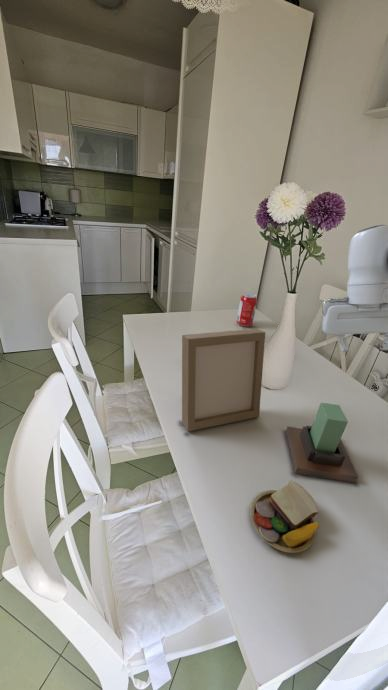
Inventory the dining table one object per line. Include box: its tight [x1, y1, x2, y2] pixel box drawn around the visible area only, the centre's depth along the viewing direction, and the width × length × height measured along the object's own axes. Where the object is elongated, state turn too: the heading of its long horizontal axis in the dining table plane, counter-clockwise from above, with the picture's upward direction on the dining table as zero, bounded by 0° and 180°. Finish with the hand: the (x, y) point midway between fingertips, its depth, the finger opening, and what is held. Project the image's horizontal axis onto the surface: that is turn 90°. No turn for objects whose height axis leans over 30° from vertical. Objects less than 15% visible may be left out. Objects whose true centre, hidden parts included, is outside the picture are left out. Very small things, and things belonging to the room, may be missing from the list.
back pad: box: [309, 402, 349, 453], centre depth 74 cm, size 4×6×12 cm
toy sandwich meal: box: [249, 480, 320, 554], centre depth 59 cm, size 12×14×5 cm
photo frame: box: [181, 328, 266, 432], centre depth 83 cm, size 15×22×25 cm
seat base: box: [285, 425, 359, 484], centre depth 76 cm, size 14×14×5 cm
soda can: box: [236, 292, 258, 328], centre depth 145 cm, size 8×8×15 cm
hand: (364, 350), depth 78 cm, fingers open, 8 cm apart
